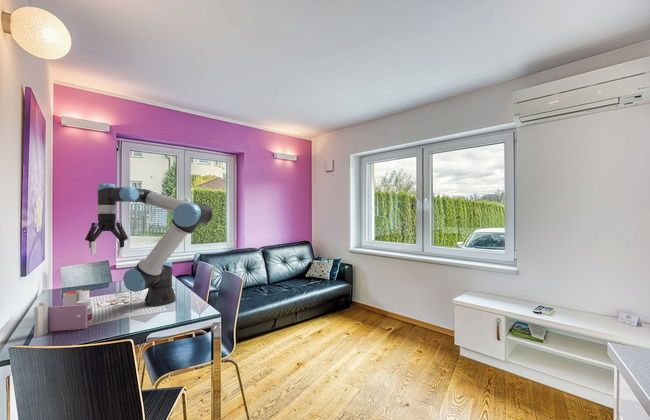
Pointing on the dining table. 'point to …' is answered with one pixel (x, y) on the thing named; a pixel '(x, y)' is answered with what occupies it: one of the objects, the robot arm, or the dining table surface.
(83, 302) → the pill bottle
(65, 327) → the door
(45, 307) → the wall
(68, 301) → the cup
